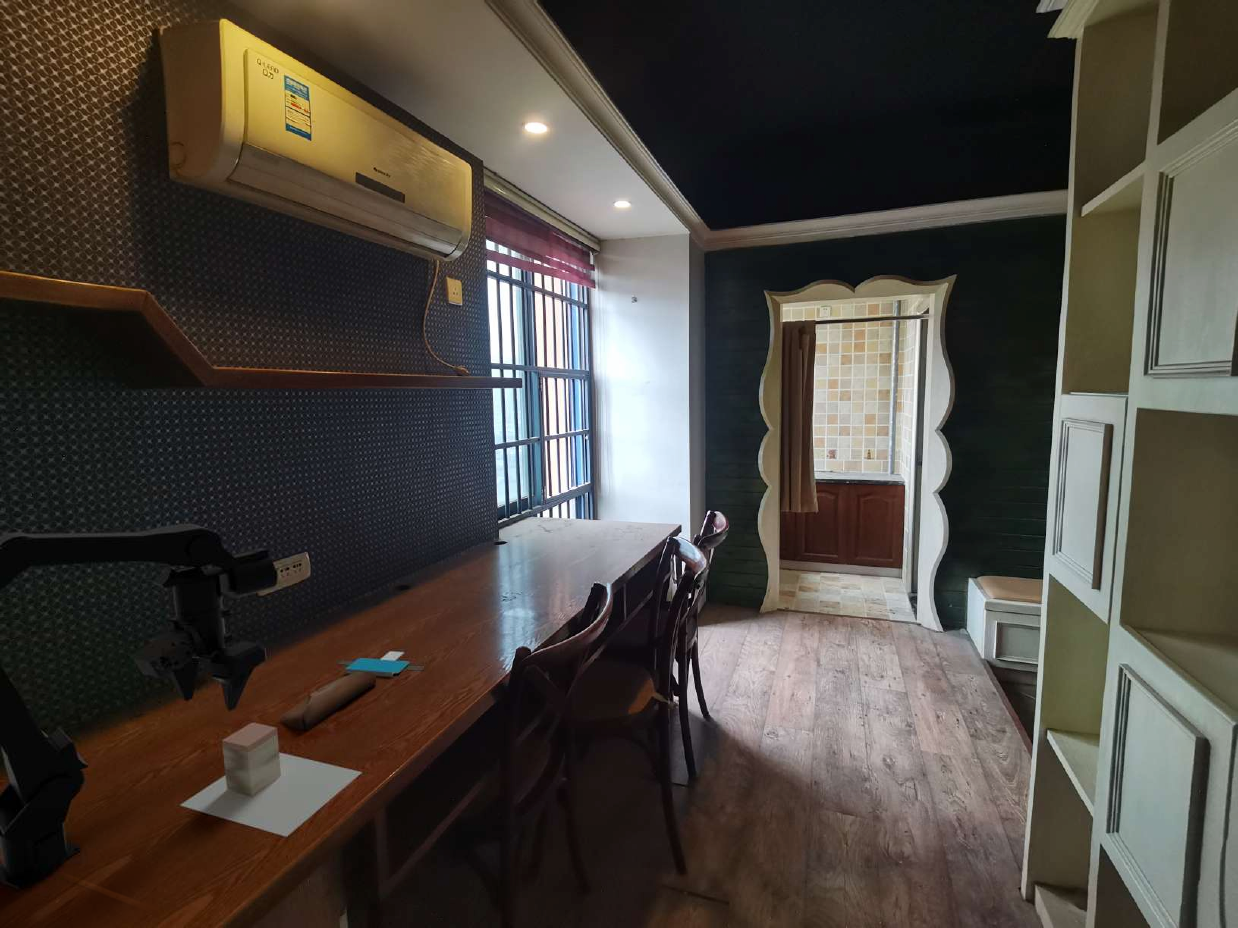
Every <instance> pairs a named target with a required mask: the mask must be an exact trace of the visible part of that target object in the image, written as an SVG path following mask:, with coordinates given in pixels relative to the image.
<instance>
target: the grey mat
mask: <svg viewBox="0 0 1238 928" xmlns="http://www.w3.org/2000/svg"><path fill="white" fill-rule="evenodd" d="M279 757H280V769H281V776H280V777H279V778H277V779H276V780H275V781H273V782H272V783H271V784H269V785H268V786H266V787H265V788H264V789H262V790H261V791H260V792H258V793H257V794H256V795H254V796H253V797H251V796H247V795H243V794H240V793H236V792H232V791H229V790H227V784H226V774H225V775H224V776H222V777H220V778H219V779H217V780H216V781H215V782H213V783H211V784H210V785H208V786H207V787H205V788H204V789H202V790H201V791H199V792H198V793H196V794H195V795H194V796H191V797H190V798H188V799H187V800H186V801H184V802H183V803H181V804H179V806H180V807H183V808H188V809H189V810H194V811H196V812H197V811H198V812H201V813H203V814H208V815H210V816H215V817H217V818H221V819H224V820H227V821H232V822H235V823H237V824H241V825H245V826H248V827H252V828H256V829H258V830H262V831H265V832H269V833H272V834H276V835H279V836H282V837H286V838H287V837H288V836H289V835H291V834H292V833H293V832H294V831H296V830H297V829H298V828H299V827H300V826H301V825H303V824H304V823H305V822H306V821H307V820H309V819H310V818H311V817H312V816H313V815H314V814H316V813H317V812H318V811H319V810H320V809H321V808H322V807H324V806H325V805H326V804H327V803H329V801H331V800H332V799H333V798H334V797H335V796H337V795H338V794H339V793H340V792H341V791H342V790H343V789H344V788H345V789H346V787H347V786H348V785H350V784H351V783H352V782H353V781H354V780H355V779H356V778H357V777H359V776H360V775H361V774H363V772H362V771H359V770H355V769H350V768H346V767H341V766H337V765H333V764H329V763H324V762H321V761H316V760H311V759H307V758H304V757H300V756H295V755H291V754H288V753H287V754H286V753H282V752H279Z"/></svg>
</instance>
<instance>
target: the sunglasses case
mask: <svg viewBox="0 0 1238 928" xmlns="http://www.w3.org/2000/svg"><path fill="white" fill-rule="evenodd" d="M377 682H378V681H377V676H375V674H374V673H373V672H371V671H369V670H365V671H361V672H357V673H354V674H347V675H345V676H343V677H341V678H339V679H336V680H334V681H333V682H330V683H329V684H327V685H324V686H322V687H320V688H318V690H315V691H314V692H312V693H310V694H309V697H308V698H305V700H302V701H300V703H298V704H296V705H295V706H294V707H292V708H291V709H289V710H288V711H287V712H285V713H284V714H283V715H281V716H280V717H279V718H277V720H276V722H278V723H280V724H281V725H285V726H288V727H290V728H296V729H298V730H304V731H305V732H308V731H309V730H311V729H313V728H315V726H317V725H318V724H319V723H321V722H322V721H323V720H325V718H327V717H328V716H329V715H331V714H333V713H334V711H336V710H338V709H339V708H341V707H342V706H344V705H346V704H347V703H348V702H350V701H351V700H352V699H354V698H356V697H357V696H358V695H361V694H362V693H363V692H364V691H366V690H367V689H369V688H371V687H372V686H376V684H377Z"/></svg>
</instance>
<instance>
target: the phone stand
mask: <svg viewBox="0 0 1238 928" xmlns="http://www.w3.org/2000/svg"><path fill="white" fill-rule="evenodd" d="M403 654H405V652H404V651H388V652H387V653H386V654H385V655H384V656H382V657H381V658H380V659H377V658H365V657H364V658H363V657H362V658H361V657H360V658H357V659H356V660H355V661H348V660H340V662H338V663H337V665H346V666H347V667H346V668H345V671H344V672H345V674H346V675H351V674H354V673H357V672H361V671H365V670H369V671H371V672H373V673H374V674H375V676H376V677H385V678H387V677H388V678H393V676H394V674H396V675H398V674H399V673H400V672H401V673H403V672H404V671H406V670H408V671H409V670H410V671H413V670H414V671H415V670H416V671H422V670H423V669H425V668H426V666H417V665H409V664H410V661H405V660H398V659H399V658H400V657H401V656H403Z"/></svg>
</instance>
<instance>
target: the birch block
mask: <svg viewBox="0 0 1238 928" xmlns="http://www.w3.org/2000/svg"><path fill="white" fill-rule="evenodd" d="M278 734H279V733H278V727H275V726H269V725H265V724H261V723H257V722H254V721H253V722H251V723H249V724H247V725H245V726H244V727H243V728H241V729H239V730H237V731H235V732H234V733H232V734H231V735H229V736H227V737H226V738H224V739H222V740H221V743H222V752H223V763H224V773H225V775H226V784H227V790H229V791H232V792H236V793H240V794H243V795H247V796H251V797H253V796H254V795H256V794H257V793H258V792H260V791H261V790H262V789H264V788H265V787H266V786H268V785H269V784H271V783H272V782H273V781H275V780H276V779H277V778H279V777H280V776H281V769H280V757H279V753H280V748H279V738H278V737H279V736H278Z"/></svg>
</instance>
